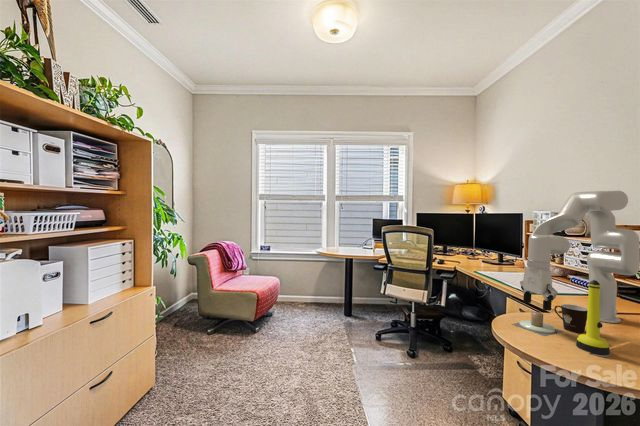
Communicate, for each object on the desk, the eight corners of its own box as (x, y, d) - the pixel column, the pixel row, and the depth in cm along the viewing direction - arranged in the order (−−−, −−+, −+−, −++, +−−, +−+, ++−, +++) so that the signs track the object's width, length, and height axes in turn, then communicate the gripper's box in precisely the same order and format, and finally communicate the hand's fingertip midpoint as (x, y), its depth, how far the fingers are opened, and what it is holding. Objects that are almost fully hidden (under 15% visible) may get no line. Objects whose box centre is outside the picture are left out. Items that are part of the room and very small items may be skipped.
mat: (530, 321, 133) (530, 320, 133) (563, 332, 121) (563, 331, 121) (511, 325, 127) (511, 324, 127) (544, 337, 116) (544, 336, 116)
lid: (530, 320, 132) (531, 307, 132) (561, 331, 121) (562, 316, 121) (513, 324, 127) (513, 310, 127) (544, 335, 116) (544, 320, 116)
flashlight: (572, 278, 107) (604, 283, 99) (586, 276, 111) (617, 282, 103) (570, 347, 108) (601, 358, 99) (584, 343, 111) (615, 354, 103)
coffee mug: (593, 337, 117) (594, 311, 117) (568, 334, 119) (569, 309, 119) (574, 326, 129) (575, 303, 129) (551, 324, 131) (552, 301, 130)
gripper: (514, 261, 132) (512, 300, 132) (548, 268, 115) (546, 313, 115) (529, 262, 133) (527, 300, 133) (566, 269, 116) (564, 313, 116)
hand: (536, 306), depth 124 cm, fingers open, 9 cm apart
